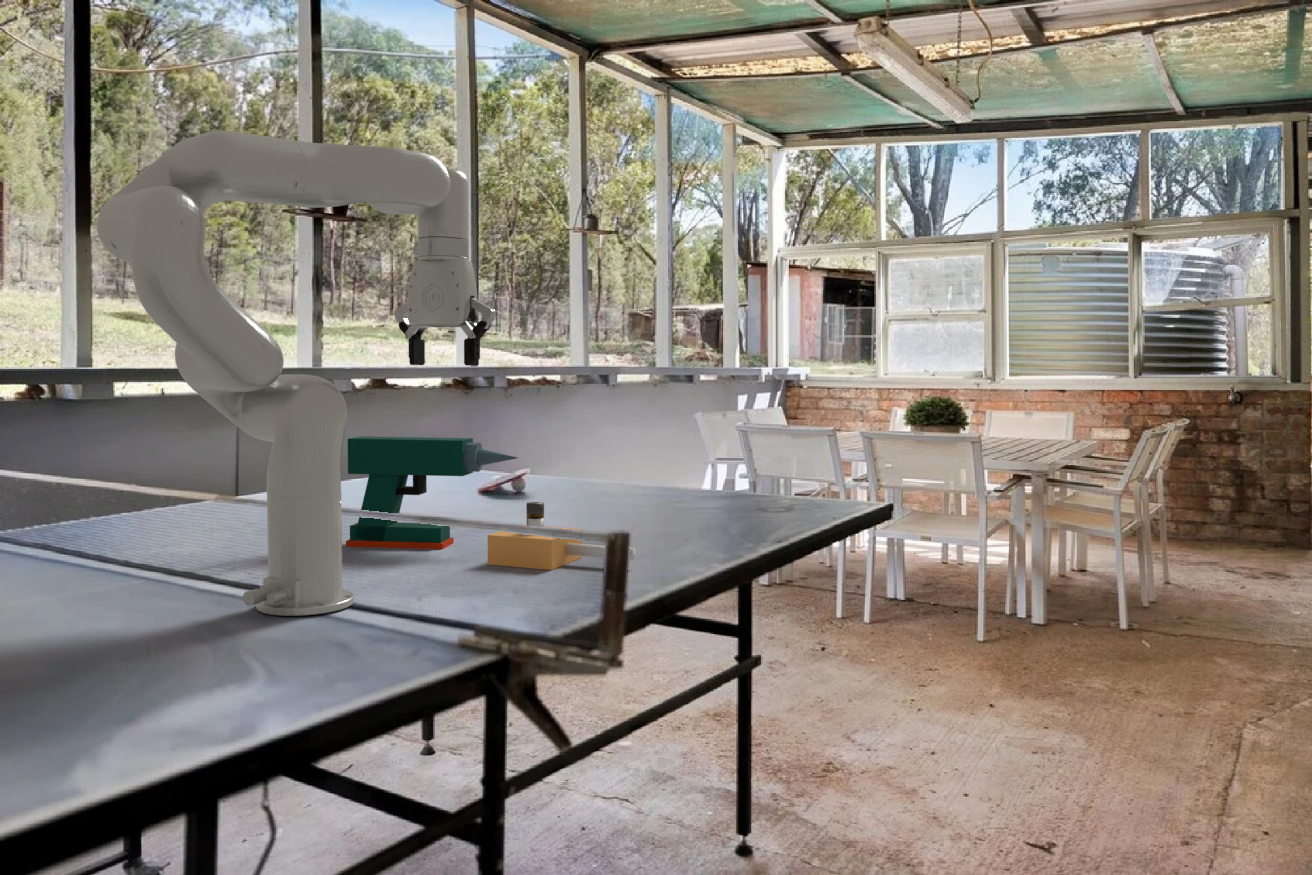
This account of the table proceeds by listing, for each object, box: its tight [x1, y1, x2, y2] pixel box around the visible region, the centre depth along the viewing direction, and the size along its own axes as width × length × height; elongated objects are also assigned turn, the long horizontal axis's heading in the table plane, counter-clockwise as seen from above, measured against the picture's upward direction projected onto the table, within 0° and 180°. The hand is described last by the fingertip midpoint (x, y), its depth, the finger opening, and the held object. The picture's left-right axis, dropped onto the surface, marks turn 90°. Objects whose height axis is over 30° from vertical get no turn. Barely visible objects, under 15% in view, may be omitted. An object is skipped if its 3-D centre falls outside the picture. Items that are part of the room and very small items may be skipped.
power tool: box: [345, 435, 519, 550], centre depth 178 cm, size 32×7×20 cm, turn 84°
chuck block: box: [487, 524, 636, 571], centre depth 163 cm, size 12×24×5 cm, turn 70°
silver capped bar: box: [525, 501, 545, 527], centre depth 165 cm, size 3×3×10 cm
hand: (444, 365), depth 147 cm, fingers open, 9 cm apart
